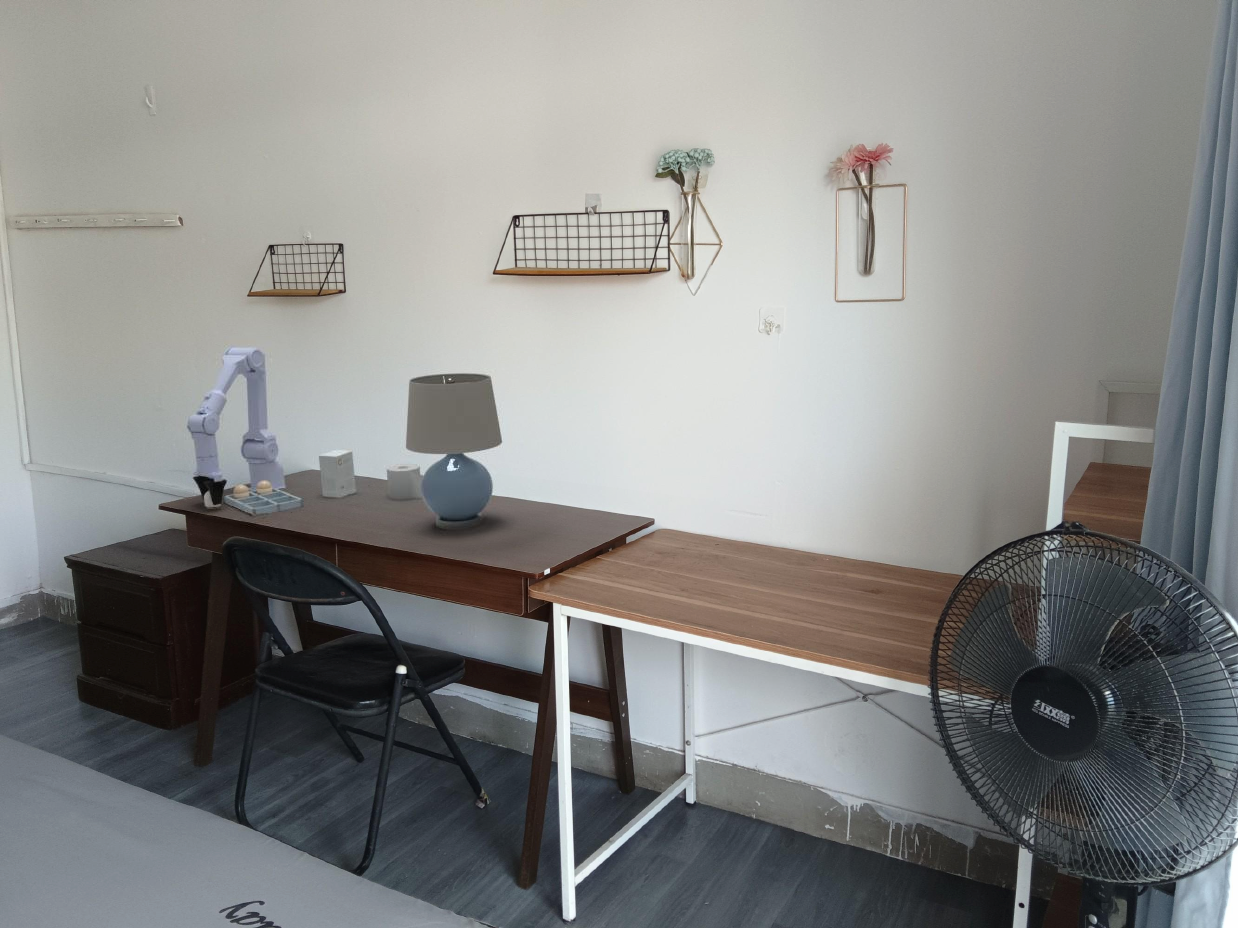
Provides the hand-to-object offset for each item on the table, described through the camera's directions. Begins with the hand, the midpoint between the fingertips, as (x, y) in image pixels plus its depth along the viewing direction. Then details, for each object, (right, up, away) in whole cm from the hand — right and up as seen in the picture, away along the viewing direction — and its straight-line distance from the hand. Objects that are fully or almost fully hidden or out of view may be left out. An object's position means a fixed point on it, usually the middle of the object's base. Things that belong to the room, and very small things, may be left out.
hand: (212, 501), depth 268 cm
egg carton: (+14, -1, +1) cm, 14 cm away
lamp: (+74, -5, -20) cm, 77 cm away
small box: (+33, +1, +12) cm, 35 cm away
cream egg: (0, -2, 0) cm, 2 cm away
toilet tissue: (+54, +1, +9) cm, 55 cm away
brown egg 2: (+12, +1, +8) cm, 15 cm away
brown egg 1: (+7, 0, +4) cm, 8 cm away
